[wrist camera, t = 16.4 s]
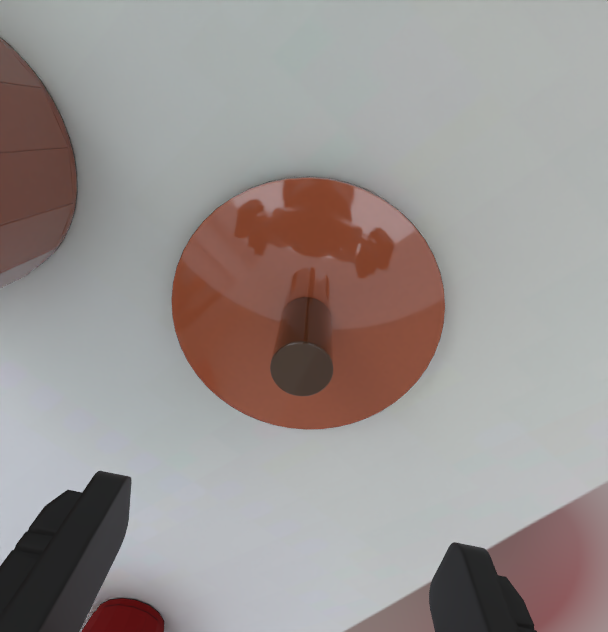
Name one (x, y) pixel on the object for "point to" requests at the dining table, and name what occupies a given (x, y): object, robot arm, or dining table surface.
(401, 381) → the lid
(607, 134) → the dining table surface
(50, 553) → the robot arm
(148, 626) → the plastic cup
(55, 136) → the pot
